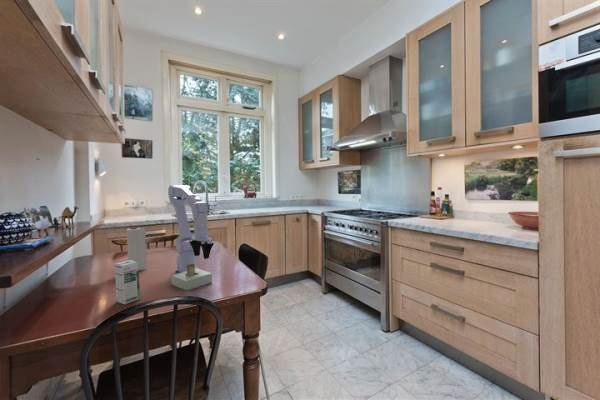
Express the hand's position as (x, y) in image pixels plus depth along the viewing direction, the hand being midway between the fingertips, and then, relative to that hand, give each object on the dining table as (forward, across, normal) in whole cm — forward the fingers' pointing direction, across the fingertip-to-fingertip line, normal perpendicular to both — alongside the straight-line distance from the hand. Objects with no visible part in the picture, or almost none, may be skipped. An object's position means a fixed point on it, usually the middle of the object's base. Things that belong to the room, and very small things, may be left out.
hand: (201, 257), depth 125 cm
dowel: (+10, +2, -7) cm, 12 cm away
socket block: (+10, +2, -6) cm, 12 cm away
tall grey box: (+10, -38, -13) cm, 42 cm away
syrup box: (+10, 0, -31) cm, 32 cm away
